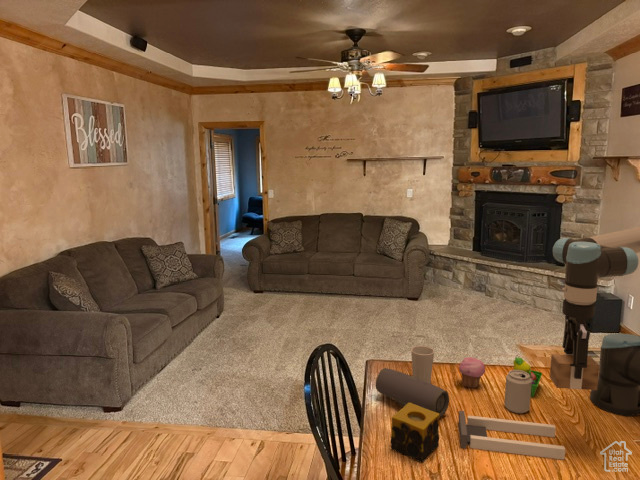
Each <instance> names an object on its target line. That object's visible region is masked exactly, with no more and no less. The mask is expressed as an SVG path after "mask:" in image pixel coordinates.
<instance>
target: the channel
mask: <svg viewBox="0 0 640 480" xmlns="http://www.w3.org/2000/svg"><path fill="white" fill-rule="evenodd" d="M466 420H467V422H466V425H472V426H481V427H486V431H487V430H489V431H498V432H505V433H515V434H523V435H532V436H540V437H548V438H555V437H556V429H557V428H556V425H555V424H547V423H538V422H532V421H531V422H530V421H523V420H522V421H520V420H514V419H513V420H511V419H503V418H495V417H487V416H484V417H483V416H477V415H476V416H475V415H467V419H466ZM469 448H470V449H476V450H483V451H491V452H500V453H506V454H508V453H509V454H514V455H516V454H517V455H525V456H529V457H530V456H531V457H538V458H547V459H555V460H565V457H566V448H565V446H564V445H559V444H558V445H557V444H549V443H541V442H540V443H539V442H533V441H522V440H516V439H515V440H514V439H506V438H505V439H504V438H498V437H490V436H487V437H482V436H474V435H470V445H469Z"/></svg>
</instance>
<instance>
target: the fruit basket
mask: <svg viewBox="0 0 640 480" xmlns="http://www.w3.org/2000/svg"><path fill="white" fill-rule="evenodd" d="M512 364H513V370H521V371H524V372H527V373H528V374H529V375H530V378H531V380H532V384H531V397H530V398H534V396H535V394H536V391H537V388H538V386H539V383H540V382H541V378H542V376H543V373H542V372H541V371H537V370H532V368H531V365H530V364H529V363H528V362H527V361H526V360H524V359H523V358H522V357H520V356H519V357H517V356H516V357H515V359H514V360H513V363H512Z"/></svg>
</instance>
